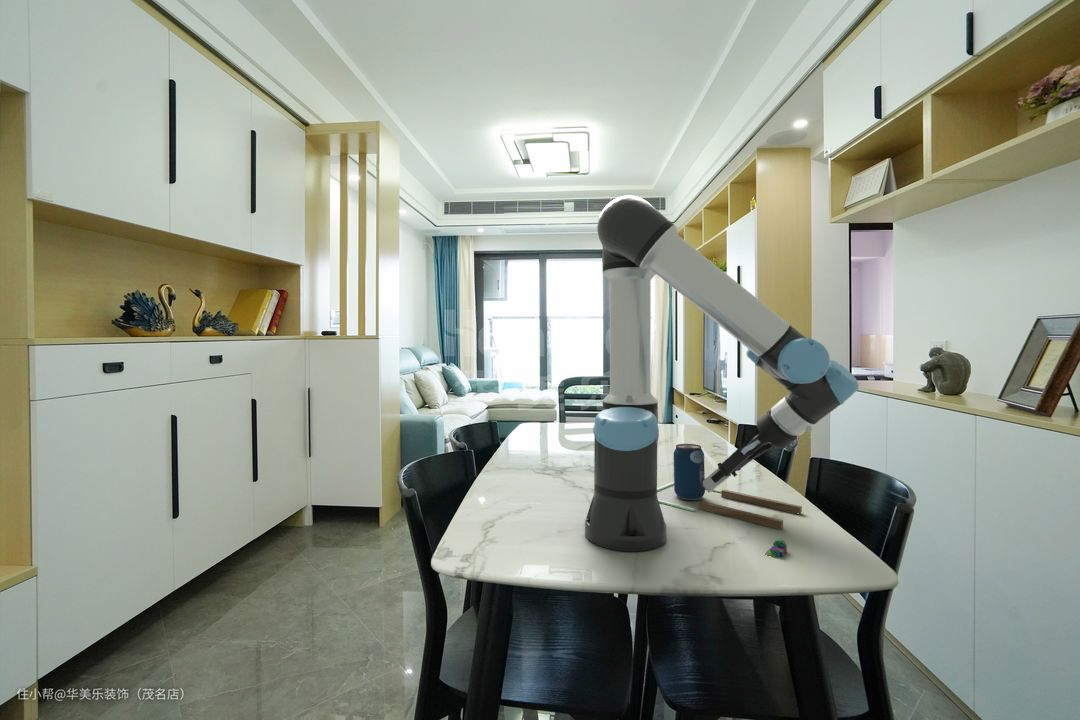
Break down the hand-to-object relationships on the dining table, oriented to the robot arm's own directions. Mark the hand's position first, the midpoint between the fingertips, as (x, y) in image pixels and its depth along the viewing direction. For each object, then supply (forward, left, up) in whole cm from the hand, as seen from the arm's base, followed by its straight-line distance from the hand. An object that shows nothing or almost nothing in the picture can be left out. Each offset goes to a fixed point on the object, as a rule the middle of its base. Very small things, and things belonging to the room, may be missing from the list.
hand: (706, 486), depth 111 cm
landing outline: (0, +5, -3) cm, 6 cm away
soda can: (-1, +4, -3) cm, 5 cm away
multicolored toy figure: (-18, -22, -4) cm, 29 cm away
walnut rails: (0, -10, -3) cm, 10 cm away
